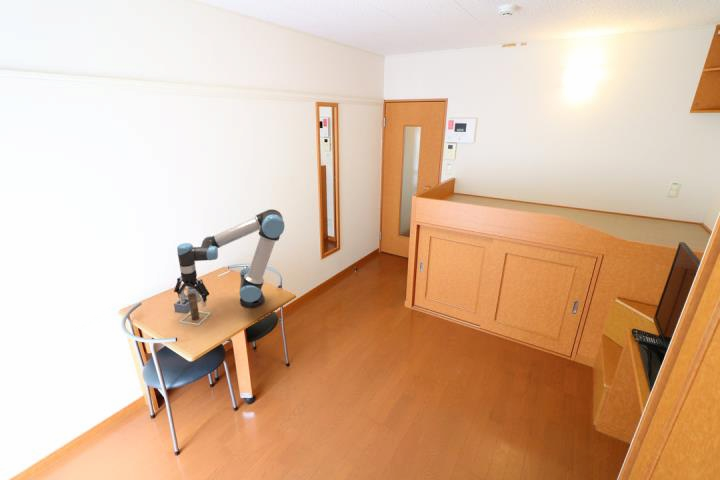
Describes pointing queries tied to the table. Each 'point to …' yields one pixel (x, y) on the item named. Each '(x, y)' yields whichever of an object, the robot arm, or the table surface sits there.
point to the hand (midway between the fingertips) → (193, 304)
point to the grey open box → (182, 306)
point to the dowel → (193, 306)
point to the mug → (191, 290)
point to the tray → (195, 323)
